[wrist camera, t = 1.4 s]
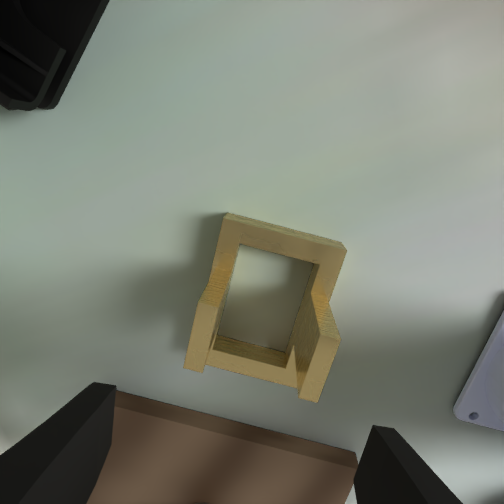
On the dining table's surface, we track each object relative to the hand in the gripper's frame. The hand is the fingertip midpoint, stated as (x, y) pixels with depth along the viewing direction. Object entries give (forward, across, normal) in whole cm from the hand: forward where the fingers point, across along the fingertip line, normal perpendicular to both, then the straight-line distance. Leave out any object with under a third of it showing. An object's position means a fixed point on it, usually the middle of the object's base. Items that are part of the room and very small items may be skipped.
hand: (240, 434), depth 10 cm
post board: (+10, 0, +15) cm, 18 cm away
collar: (+10, -1, 0) cm, 10 cm away
